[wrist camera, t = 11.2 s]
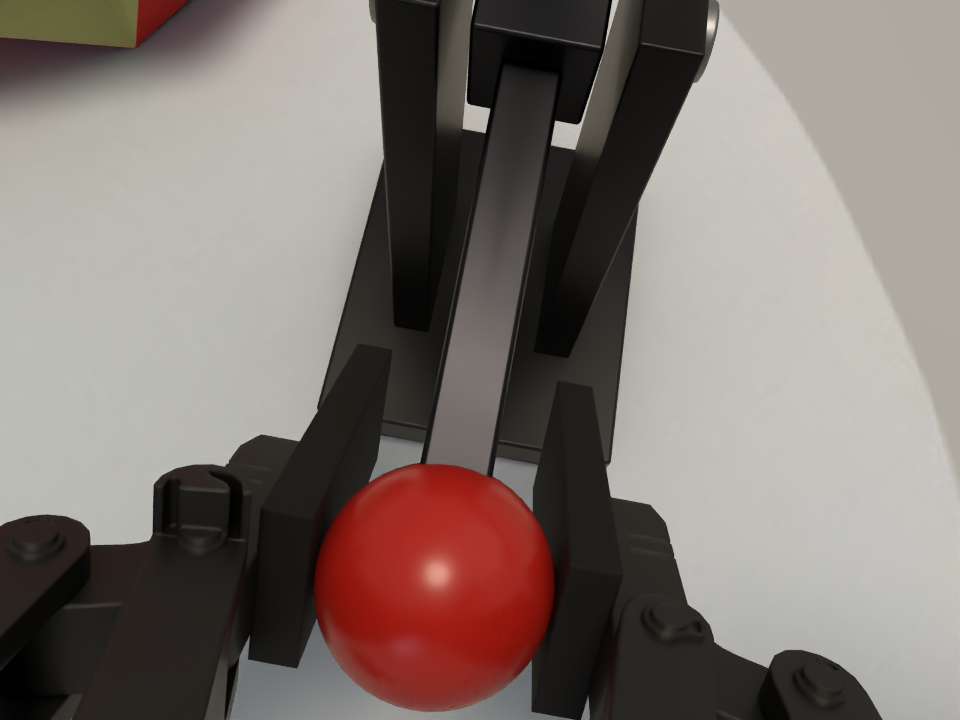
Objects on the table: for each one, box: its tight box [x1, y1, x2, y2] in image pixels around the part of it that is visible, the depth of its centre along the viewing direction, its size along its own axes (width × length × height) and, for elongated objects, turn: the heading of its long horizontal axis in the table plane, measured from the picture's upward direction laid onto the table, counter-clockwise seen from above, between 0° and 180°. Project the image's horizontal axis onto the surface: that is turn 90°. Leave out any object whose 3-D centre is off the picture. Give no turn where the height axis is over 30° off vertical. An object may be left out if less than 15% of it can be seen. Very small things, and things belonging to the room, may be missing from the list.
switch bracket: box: [317, 0, 719, 467], centre depth 19 cm, size 10×8×13 cm
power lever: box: [314, 0, 612, 712], centre depth 13 cm, size 13×4×4 cm, turn 170°
